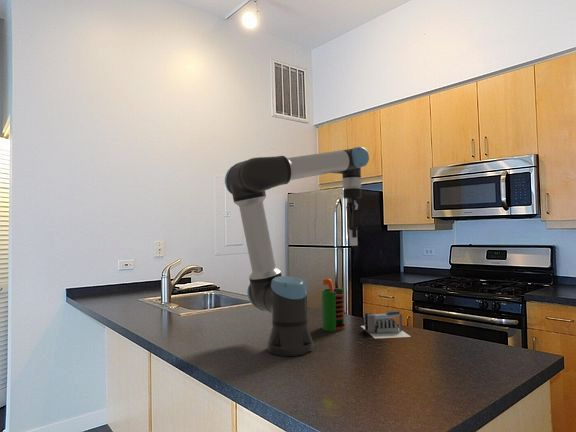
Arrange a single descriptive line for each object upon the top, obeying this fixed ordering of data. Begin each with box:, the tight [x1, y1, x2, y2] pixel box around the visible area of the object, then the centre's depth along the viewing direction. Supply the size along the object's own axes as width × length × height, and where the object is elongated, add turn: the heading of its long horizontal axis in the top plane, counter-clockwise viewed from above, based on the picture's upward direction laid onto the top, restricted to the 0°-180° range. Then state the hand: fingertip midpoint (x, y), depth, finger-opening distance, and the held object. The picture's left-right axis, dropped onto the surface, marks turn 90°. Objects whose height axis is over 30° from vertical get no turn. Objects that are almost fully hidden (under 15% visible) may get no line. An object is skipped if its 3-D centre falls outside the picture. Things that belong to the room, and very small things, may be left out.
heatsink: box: [375, 317, 399, 334], centre depth 153 cm, size 8×8×4 cm
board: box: [360, 325, 412, 339], centre depth 153 cm, size 19×13×1 cm
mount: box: [363, 312, 403, 335], centre depth 153 cm, size 5×13×6 cm, turn 95°
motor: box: [321, 278, 346, 333], centre depth 159 cm, size 10×9×20 cm
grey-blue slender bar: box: [366, 309, 401, 318], centre depth 153 cm, size 3×12×2 cm, turn 95°
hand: (353, 245), depth 169 cm, fingers closed
